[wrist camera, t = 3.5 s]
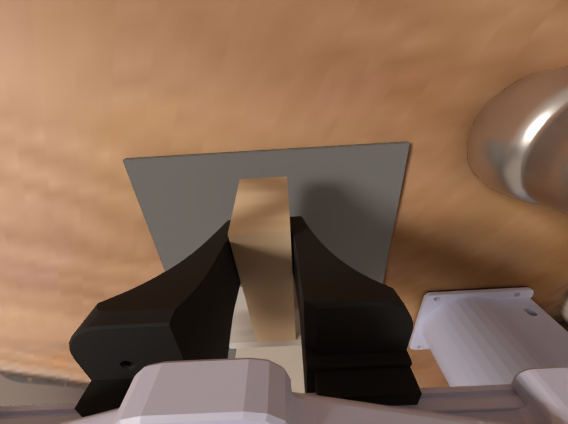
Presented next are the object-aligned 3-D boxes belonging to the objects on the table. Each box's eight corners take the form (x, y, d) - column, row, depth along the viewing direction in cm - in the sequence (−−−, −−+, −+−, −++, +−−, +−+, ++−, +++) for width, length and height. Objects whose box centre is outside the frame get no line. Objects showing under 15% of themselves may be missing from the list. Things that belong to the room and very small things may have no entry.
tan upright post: (322, 174, 13) (337, 228, 9) (316, 289, 19) (324, 344, 16) (204, 181, 13) (180, 236, 10) (237, 293, 19) (230, 348, 16)
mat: (407, 141, 16) (410, 143, 15) (365, 365, 28) (366, 368, 28) (125, 158, 16) (122, 160, 16) (206, 373, 28) (205, 376, 28)
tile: (318, 309, 23) (335, 414, 16) (318, 321, 24) (334, 425, 17) (242, 313, 23) (225, 419, 16) (244, 324, 24) (229, 430, 17)
